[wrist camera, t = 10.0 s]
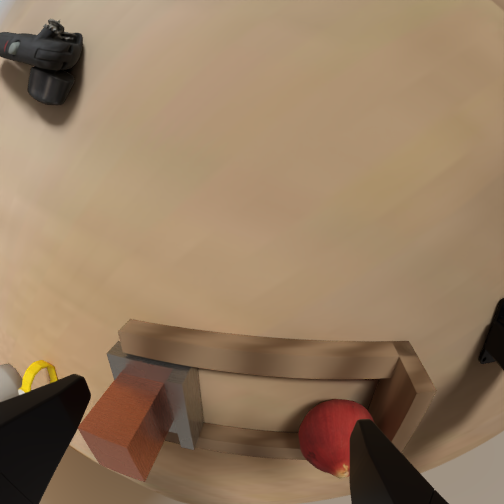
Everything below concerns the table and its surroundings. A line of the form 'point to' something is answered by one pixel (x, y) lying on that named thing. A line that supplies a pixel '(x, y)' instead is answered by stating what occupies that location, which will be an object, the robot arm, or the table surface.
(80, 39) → the can opener
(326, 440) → the onion
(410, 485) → the robot arm
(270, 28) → the table surface
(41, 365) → the watch
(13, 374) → the salt shaker
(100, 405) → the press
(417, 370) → the bench
